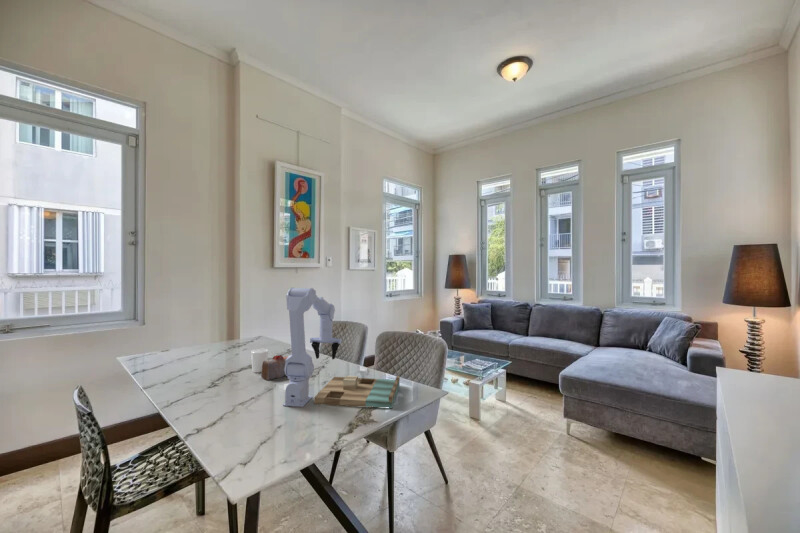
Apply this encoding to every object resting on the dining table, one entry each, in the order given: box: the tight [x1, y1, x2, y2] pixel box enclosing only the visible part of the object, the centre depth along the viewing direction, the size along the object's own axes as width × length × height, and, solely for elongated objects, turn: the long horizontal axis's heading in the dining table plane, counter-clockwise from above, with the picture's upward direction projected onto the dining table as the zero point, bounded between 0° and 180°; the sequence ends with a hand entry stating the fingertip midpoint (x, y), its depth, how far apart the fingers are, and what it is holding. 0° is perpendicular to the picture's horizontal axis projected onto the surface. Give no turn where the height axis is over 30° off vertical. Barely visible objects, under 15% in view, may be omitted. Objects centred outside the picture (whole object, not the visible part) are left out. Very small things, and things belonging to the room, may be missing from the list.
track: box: [313, 375, 401, 409], centre depth 135 cm, size 24×30×4 cm
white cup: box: [250, 348, 269, 374], centre depth 163 cm, size 8×8×10 cm
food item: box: [261, 355, 290, 381], centre depth 156 cm, size 14×8×10 cm, turn 140°
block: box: [343, 375, 359, 390], centre depth 135 cm, size 5×5×4 cm
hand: (325, 358), depth 152 cm, fingers open, 7 cm apart
